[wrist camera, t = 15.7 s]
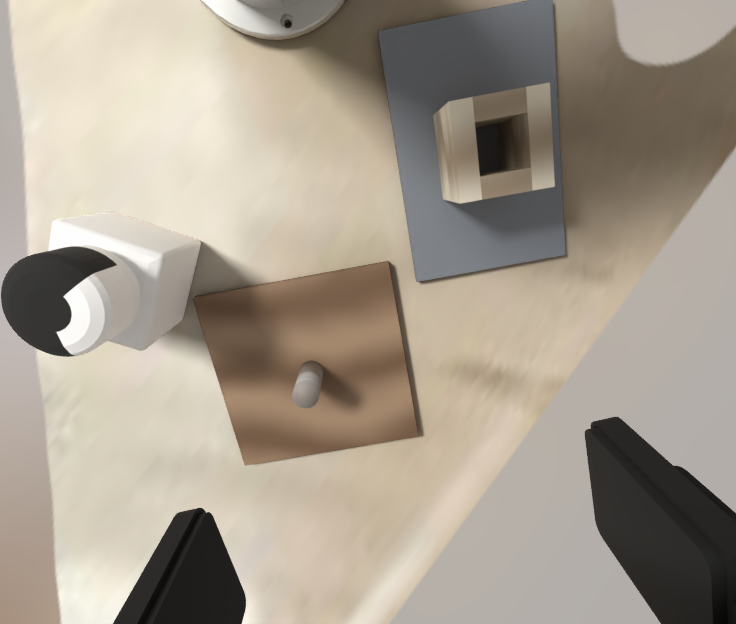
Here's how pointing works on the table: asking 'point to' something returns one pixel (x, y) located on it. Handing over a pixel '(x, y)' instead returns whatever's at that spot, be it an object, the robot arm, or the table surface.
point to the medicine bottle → (100, 285)
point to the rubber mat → (469, 79)
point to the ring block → (516, 141)
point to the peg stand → (310, 363)
